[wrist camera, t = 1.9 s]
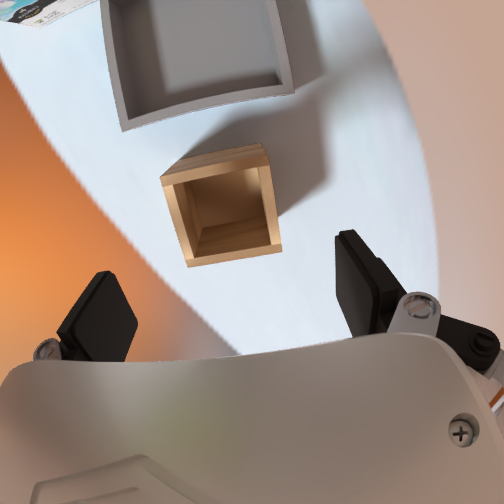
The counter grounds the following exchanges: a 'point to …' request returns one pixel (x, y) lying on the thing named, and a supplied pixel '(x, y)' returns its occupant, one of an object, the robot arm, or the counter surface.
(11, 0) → the tea box
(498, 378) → the robot arm
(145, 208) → the counter surface
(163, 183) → the oak crate
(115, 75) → the grey square tray
